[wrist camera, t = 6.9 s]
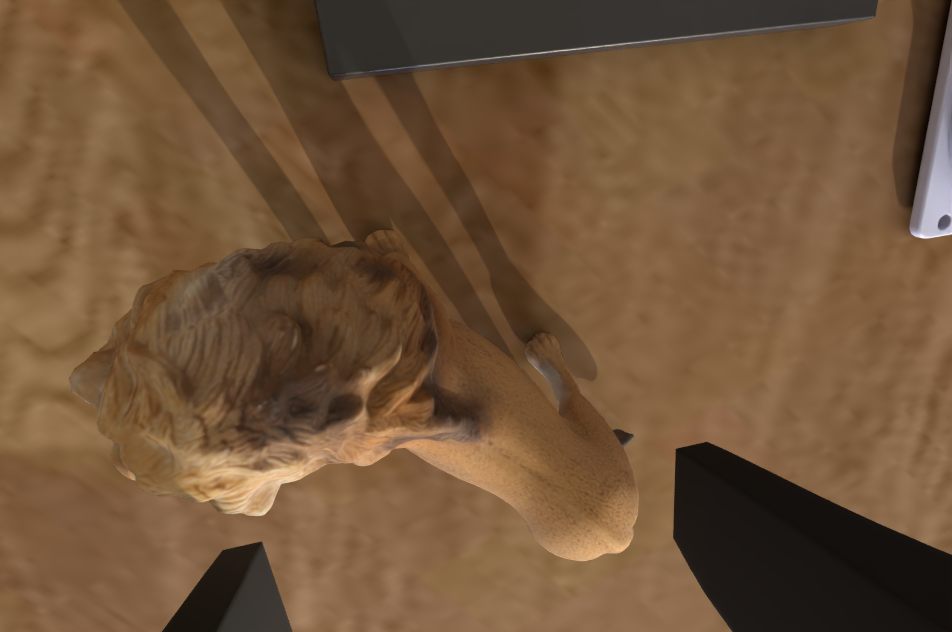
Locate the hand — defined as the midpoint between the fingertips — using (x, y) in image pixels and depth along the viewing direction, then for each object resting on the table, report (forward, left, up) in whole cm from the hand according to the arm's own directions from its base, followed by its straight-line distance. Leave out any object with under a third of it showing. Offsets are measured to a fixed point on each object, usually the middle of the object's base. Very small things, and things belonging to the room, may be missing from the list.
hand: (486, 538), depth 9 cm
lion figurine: (0, 0, -8) cm, 8 cm away
